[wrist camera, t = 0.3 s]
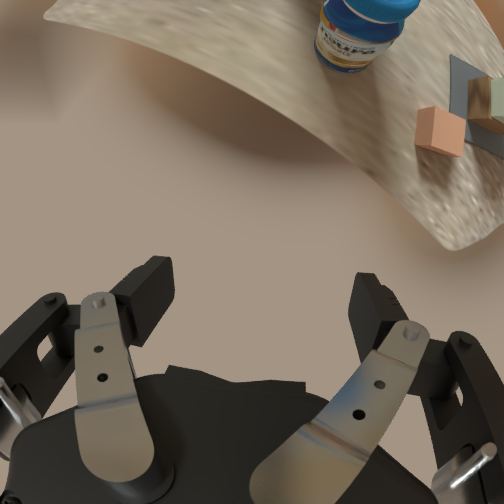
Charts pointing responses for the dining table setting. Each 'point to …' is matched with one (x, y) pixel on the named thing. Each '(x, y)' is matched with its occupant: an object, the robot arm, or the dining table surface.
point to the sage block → (497, 99)
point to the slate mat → (458, 106)
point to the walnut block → (482, 105)
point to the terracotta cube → (440, 131)
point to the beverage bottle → (358, 31)
